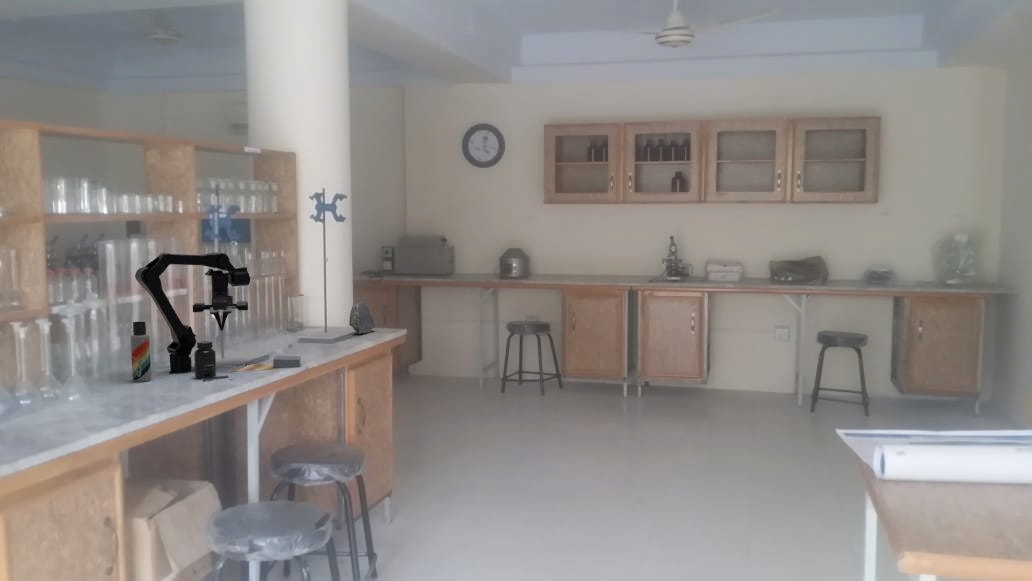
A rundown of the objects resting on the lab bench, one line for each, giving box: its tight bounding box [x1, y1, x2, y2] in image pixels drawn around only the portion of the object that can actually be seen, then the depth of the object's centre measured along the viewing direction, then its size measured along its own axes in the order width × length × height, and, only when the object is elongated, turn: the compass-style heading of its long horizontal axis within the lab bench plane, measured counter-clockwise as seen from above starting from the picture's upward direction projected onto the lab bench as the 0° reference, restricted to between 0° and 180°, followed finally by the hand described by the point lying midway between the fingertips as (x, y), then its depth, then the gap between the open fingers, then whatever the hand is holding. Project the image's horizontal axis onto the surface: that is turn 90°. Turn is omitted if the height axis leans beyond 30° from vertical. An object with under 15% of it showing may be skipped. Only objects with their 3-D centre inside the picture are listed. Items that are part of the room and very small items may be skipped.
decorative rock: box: [348, 300, 376, 334], centre depth 374 cm, size 16×7×15 cm, turn 157°
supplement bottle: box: [193, 340, 217, 380], centre depth 279 cm, size 7×7×12 cm
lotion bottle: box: [130, 321, 152, 383], centre depth 273 cm, size 6×6×20 cm
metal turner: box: [202, 375, 235, 383], centre depth 277 cm, size 15×6×1 cm, turn 123°
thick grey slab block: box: [272, 355, 302, 369], centre depth 296 cm, size 3×7×9 cm
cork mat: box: [229, 363, 278, 373], centre depth 294 cm, size 16×12×1 cm
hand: (221, 330), depth 298 cm, fingers closed
